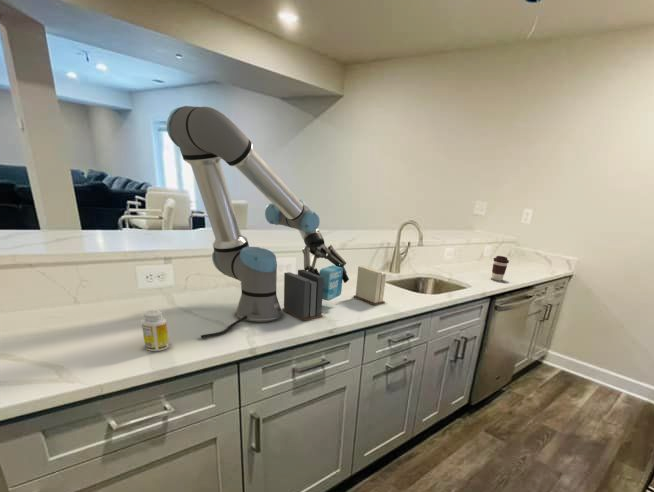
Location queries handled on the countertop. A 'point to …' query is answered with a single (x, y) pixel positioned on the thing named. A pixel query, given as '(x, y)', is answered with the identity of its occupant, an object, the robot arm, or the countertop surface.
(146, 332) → the supplement bottle
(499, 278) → the coffee cup
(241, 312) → the robot arm
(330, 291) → the blue box
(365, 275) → the cream books
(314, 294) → the grey books
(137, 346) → the countertop surface
